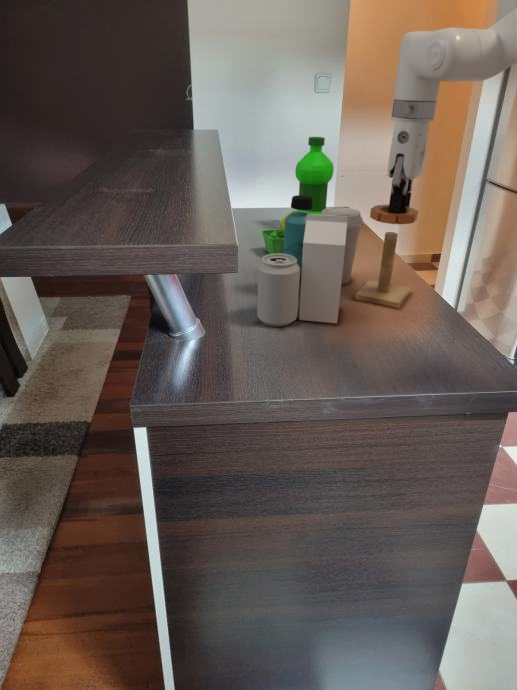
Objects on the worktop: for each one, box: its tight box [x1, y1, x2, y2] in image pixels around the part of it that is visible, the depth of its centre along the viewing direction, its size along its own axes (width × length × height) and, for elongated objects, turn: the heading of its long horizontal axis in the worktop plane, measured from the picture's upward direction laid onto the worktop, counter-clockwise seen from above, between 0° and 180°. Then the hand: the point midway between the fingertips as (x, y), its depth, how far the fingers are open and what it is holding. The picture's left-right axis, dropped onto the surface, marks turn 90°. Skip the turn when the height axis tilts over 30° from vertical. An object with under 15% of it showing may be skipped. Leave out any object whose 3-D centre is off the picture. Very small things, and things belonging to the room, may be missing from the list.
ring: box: [369, 204, 419, 225], centre depth 98 cm, size 8×8×2 cm
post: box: [354, 231, 411, 309], centre depth 103 cm, size 9×9×13 cm
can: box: [256, 253, 300, 327], centre depth 93 cm, size 8×8×12 cm
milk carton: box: [298, 214, 348, 324], centre depth 93 cm, size 7×7×19 cm
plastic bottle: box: [294, 136, 335, 215], centre depth 142 cm, size 10×10×25 cm
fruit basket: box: [261, 210, 298, 254], centre depth 127 cm, size 11×9×11 cm
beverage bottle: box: [282, 194, 313, 294], centre depth 102 cm, size 6×7×20 cm
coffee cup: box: [321, 206, 364, 285], centre depth 111 cm, size 10×10×15 cm
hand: (398, 213), depth 101 cm, fingers closed on ring, 2 cm apart
